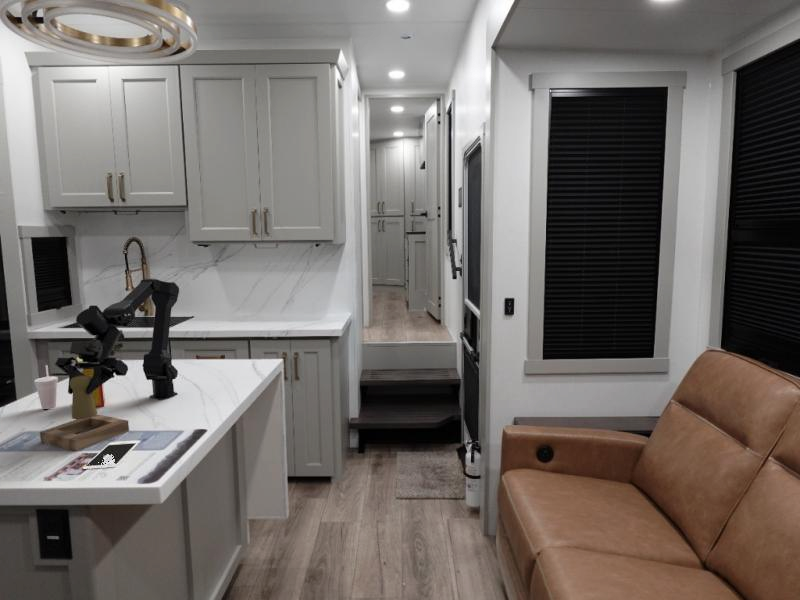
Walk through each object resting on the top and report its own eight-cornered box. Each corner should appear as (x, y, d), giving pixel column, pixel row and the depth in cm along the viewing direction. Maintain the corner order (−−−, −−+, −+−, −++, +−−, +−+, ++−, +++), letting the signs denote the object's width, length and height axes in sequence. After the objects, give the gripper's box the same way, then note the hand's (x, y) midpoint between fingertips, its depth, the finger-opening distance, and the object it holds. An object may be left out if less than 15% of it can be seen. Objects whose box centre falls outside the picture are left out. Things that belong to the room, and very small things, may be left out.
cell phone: (141, 442, 138) (140, 439, 138) (116, 468, 122) (115, 466, 122) (110, 444, 137) (110, 442, 137) (81, 471, 121) (80, 469, 121)
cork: (74, 421, 137) (69, 381, 135) (69, 415, 141) (64, 376, 140) (100, 415, 141) (95, 376, 140) (94, 409, 145) (89, 372, 144)
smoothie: (65, 406, 168) (61, 364, 166) (45, 412, 162) (40, 369, 160) (53, 403, 171) (48, 362, 169) (32, 409, 165) (27, 367, 163)
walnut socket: (40, 442, 138) (39, 431, 138) (94, 423, 152) (93, 413, 151) (76, 451, 132) (75, 440, 132) (129, 430, 145) (128, 420, 145)
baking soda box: (82, 402, 172) (77, 355, 170) (104, 398, 175) (100, 352, 173) (80, 410, 164) (75, 361, 162) (104, 406, 167) (99, 358, 165)
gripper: (56, 328, 143) (27, 378, 134) (116, 329, 140) (91, 380, 131) (80, 349, 152) (55, 397, 143) (138, 350, 149) (115, 399, 140)
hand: (78, 393), depth 139 cm, fingers closed on cork, 5 cm apart
